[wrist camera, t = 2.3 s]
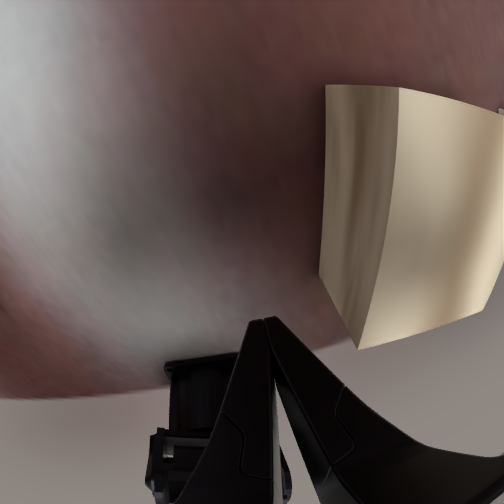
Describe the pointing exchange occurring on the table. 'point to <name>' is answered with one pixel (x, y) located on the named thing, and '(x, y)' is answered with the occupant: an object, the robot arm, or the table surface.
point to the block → (409, 210)
